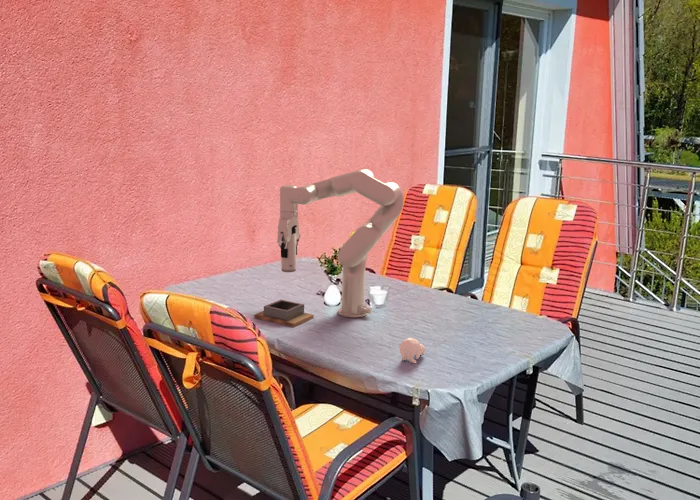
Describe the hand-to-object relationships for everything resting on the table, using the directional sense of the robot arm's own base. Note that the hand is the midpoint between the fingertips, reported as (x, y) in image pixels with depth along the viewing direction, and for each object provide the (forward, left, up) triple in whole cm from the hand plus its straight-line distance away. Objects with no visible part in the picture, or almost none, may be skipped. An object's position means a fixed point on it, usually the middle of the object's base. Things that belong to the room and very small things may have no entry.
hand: (289, 255), depth 289 cm
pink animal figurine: (-72, +25, -23) cm, 79 cm away
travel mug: (0, 0, -7) cm, 7 cm away
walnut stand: (-8, +14, -23) cm, 28 cm away
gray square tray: (-8, +14, -21) cm, 27 cm away
